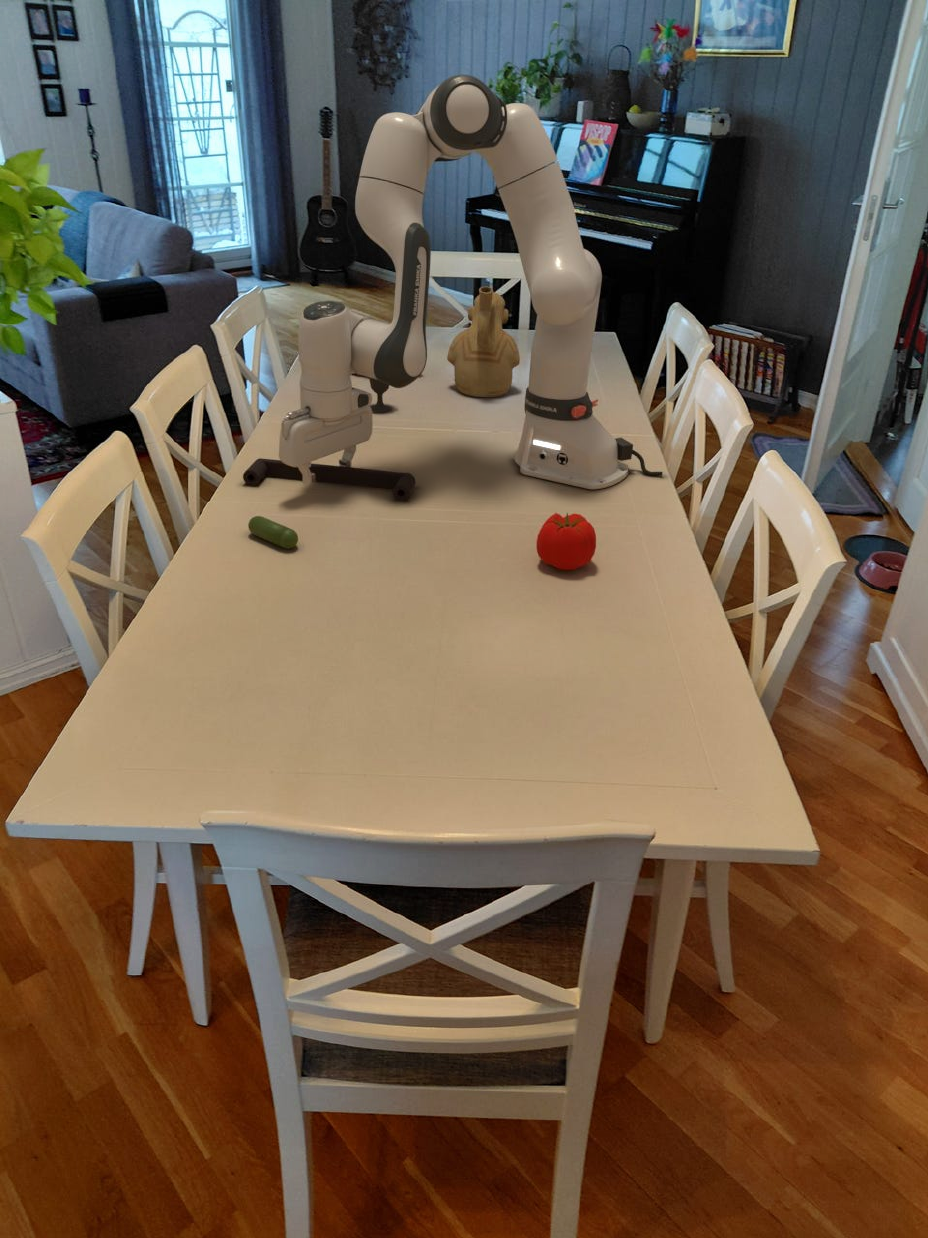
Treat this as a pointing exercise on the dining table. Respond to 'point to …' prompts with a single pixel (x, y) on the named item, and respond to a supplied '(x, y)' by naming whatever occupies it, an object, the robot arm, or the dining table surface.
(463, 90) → the robot arm
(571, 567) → the tomato
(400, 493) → the handle
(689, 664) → the dining table surface
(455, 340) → the ceramic vessel
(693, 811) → the dining table surface
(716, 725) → the dining table surface
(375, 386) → the sundae
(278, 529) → the pickle
